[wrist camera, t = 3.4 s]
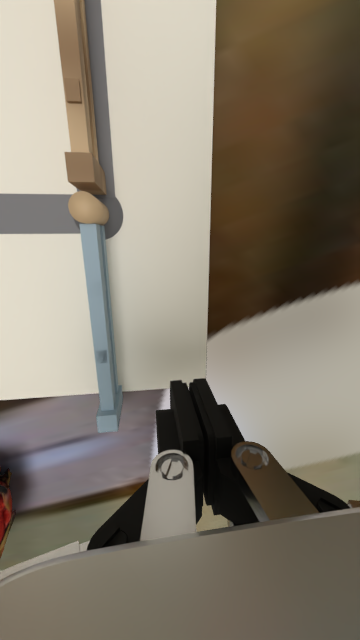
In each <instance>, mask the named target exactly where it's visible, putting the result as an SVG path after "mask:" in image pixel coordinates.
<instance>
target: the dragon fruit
mask: <svg viewBox="0 0 360 640" xmlns="http://www.w3.org/2000/svg"><path fill="white" fill-rule="evenodd" d="M0 471H1V467H0ZM11 475H12V473H11V472H10V470H9V468H8V470H7V472H5V474H4V475H0V558H1V555H2V553H3V550H4V545H5V543H6V539H7V537H8V534H9V531H10V528H11V526H12V524H13V521H14V518H15V515H16V510H14V511H13V513H12V498H11V492H10V489H8V488H9V482H10V476H11ZM9 522H10V523H9ZM11 523H12V524H11Z"/></svg>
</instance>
